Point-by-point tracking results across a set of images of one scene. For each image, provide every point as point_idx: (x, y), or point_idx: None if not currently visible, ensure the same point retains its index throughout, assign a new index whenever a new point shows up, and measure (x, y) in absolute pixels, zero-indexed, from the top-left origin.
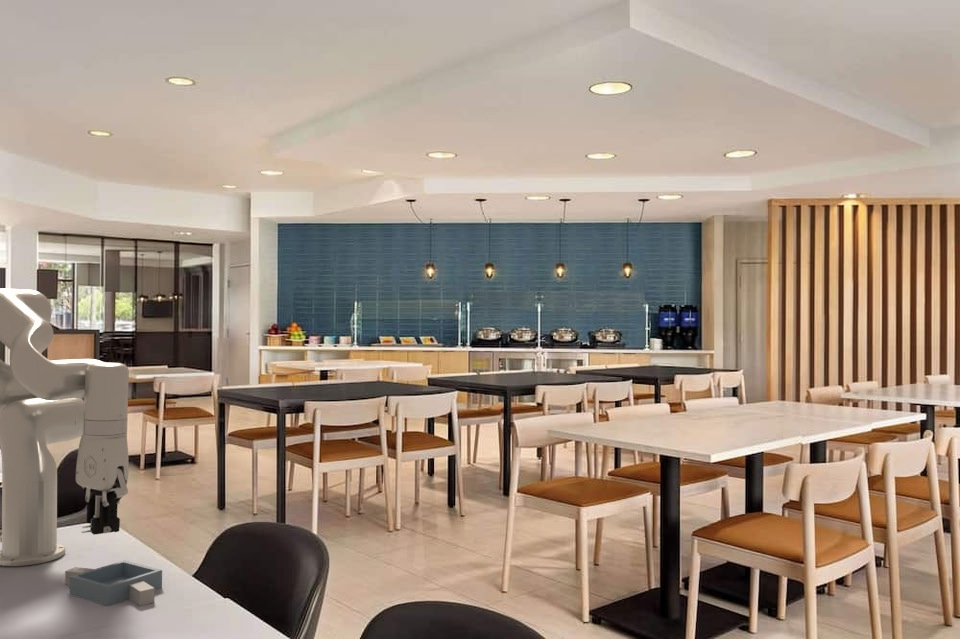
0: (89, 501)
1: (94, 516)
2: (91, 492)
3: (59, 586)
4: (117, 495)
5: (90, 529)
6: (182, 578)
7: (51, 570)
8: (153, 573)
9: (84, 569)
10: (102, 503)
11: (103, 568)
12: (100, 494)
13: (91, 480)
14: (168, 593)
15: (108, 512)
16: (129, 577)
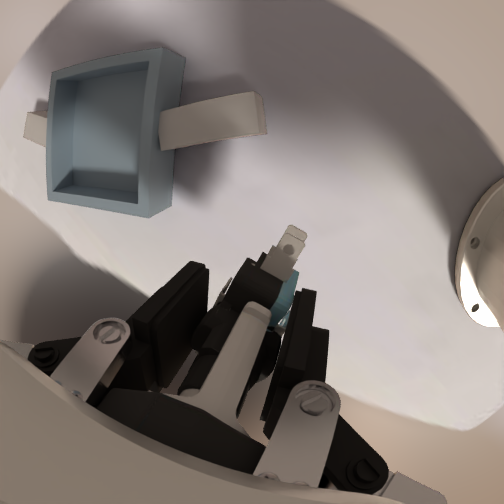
0: (301, 387)
1: (251, 307)
2: (267, 445)
3: (263, 81)
4: (21, 349)
5: (296, 275)
6: (84, 245)
7: (407, 181)
8: (47, 178)
9: (212, 129)
10: (201, 378)
11: (140, 140)
12: (125, 394)
13: (38, 478)
14: None
15: (136, 311)
16: (137, 192)
